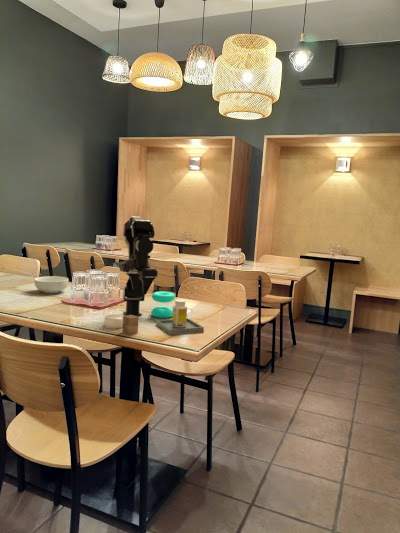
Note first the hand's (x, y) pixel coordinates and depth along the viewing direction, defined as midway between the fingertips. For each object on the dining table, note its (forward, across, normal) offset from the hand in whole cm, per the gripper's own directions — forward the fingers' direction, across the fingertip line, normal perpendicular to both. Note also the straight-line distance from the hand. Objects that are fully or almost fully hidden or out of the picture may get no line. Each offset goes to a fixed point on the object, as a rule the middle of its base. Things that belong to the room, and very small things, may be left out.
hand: (139, 292), depth 160 cm
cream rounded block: (+13, -4, -8) cm, 16 cm away
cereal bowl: (+10, -75, -16) cm, 77 cm away
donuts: (+13, -12, +17) cm, 24 cm away
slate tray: (+13, +8, +14) cm, 21 cm away
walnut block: (+14, +6, -6) cm, 16 cm away
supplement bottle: (+13, +8, +14) cm, 20 cm away
